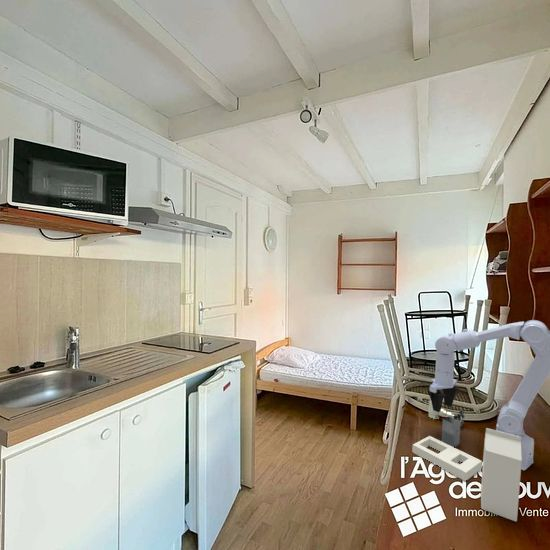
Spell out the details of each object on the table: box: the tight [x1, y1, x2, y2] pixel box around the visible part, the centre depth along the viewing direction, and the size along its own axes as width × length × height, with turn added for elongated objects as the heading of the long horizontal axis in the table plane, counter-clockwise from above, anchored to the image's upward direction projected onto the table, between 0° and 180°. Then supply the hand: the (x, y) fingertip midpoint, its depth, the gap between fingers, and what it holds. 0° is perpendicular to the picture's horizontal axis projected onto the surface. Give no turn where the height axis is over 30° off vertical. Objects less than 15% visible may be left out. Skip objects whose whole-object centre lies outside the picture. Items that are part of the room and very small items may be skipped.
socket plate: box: [411, 435, 483, 482], centre depth 99 cm, size 16×10×2 cm, turn 35°
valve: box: [427, 399, 465, 427], centre depth 124 cm, size 7×7×12 cm
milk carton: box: [480, 427, 522, 523], centre depth 80 cm, size 7×7×19 cm
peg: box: [440, 416, 461, 448], centre depth 109 cm, size 4×4×8 cm
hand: (442, 408), depth 114 cm, fingers open, 7 cm apart
